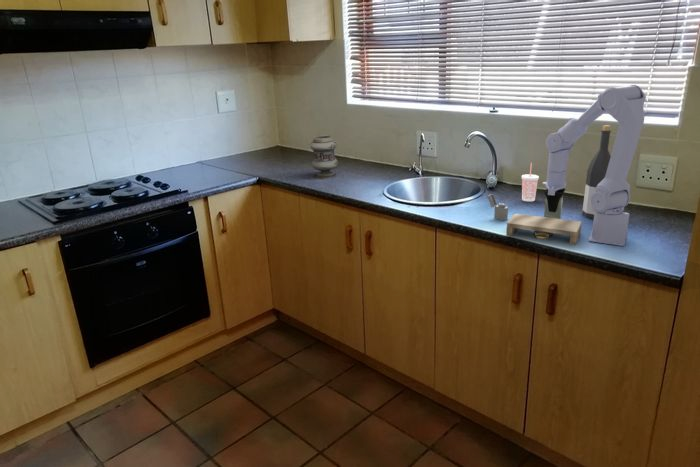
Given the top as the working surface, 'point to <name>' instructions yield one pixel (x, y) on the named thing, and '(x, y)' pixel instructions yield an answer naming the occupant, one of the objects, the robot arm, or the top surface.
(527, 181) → the beverage cup
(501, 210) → the lighter
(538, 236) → the brass token
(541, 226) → the oak shelf
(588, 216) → the wine bottle
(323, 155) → the apothecary jar
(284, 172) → the top surface
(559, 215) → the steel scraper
